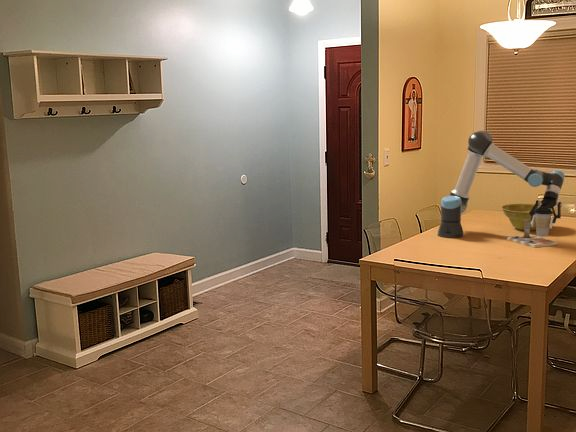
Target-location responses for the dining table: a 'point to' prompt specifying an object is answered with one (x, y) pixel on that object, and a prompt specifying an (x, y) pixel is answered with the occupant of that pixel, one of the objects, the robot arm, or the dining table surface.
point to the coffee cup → (542, 221)
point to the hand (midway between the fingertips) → (541, 226)
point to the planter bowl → (519, 214)
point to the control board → (531, 238)
